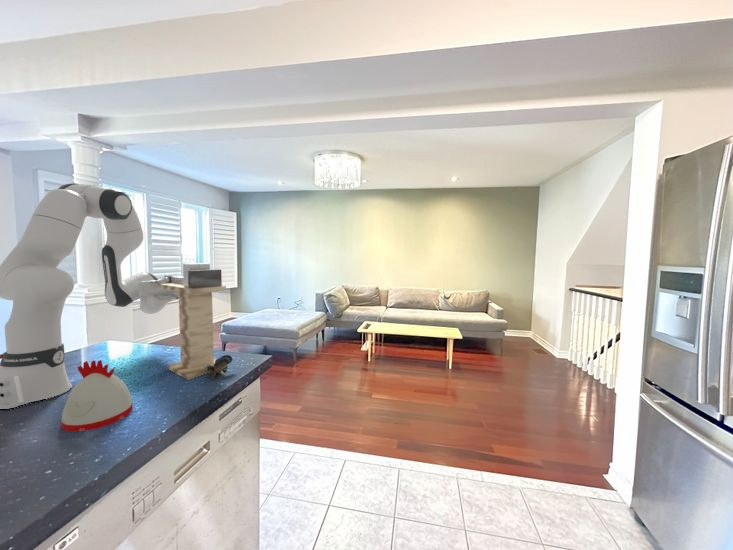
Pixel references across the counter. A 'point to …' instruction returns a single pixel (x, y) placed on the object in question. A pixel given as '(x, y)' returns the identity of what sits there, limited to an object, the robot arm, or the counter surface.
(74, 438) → the counter surface
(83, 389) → the kitchen timer
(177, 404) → the counter surface
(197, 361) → the shelf
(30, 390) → the robot arm
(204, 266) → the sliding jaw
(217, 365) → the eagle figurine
